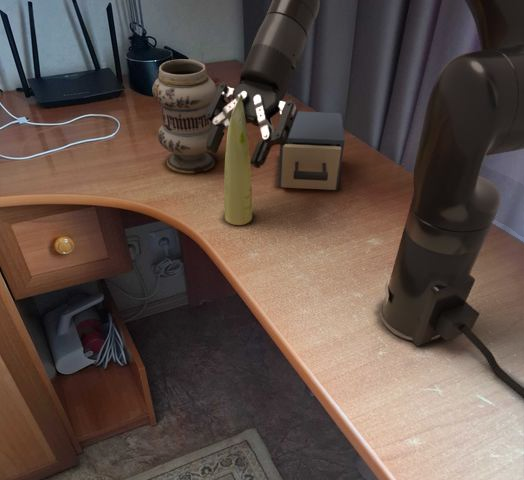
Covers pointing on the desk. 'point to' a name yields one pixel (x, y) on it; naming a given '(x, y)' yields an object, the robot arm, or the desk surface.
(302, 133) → the mini filing cabinet
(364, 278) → the desk surface
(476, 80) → the robot arm
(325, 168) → the drawer
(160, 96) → the apothecary jar
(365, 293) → the desk surface
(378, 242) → the desk surface
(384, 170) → the desk surface
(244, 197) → the tube
